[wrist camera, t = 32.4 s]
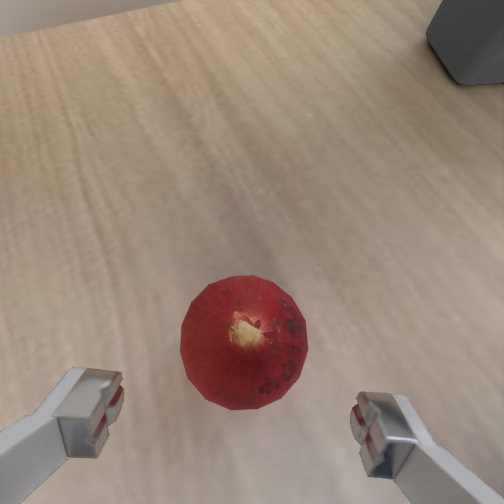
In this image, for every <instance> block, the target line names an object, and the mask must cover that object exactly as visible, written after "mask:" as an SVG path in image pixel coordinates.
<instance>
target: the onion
mask: <svg viewBox="0 0 504 504" xmlns="http://www.w3.org/2000/svg"><path fill="white" fill-rule="evenodd" d="M307 352H308V342H307V331H306V321H305V319H304V317H303V316H302V314H301V312H300V310H299V309H298V307H297V305H296V303H295V302H294V300H293V298H292V297H291V296H289V295H288V294H287V293H286V292H284V291H283V290H282V289H281V288H279V287H278V286H277V285H276V284H275V283H273V282H271V281H268V280H265V279H262V278H259V277H256V276H253V275H250V276H235V277H228V278H226V279H223V280H220V281H217V282H215V283H212V284H209V285H208V286H207V287H206V288H205V289H204V290H203V291H202V292H201V293H200V294H199V295H198V296H197V297H196V298H195V299H194V300H193V301H192V302H191V304H190V307H189V309H188V311H187V314H186V316H185V318H184V321H183V323H182V326H181V344H180V353H181V356H182V360H183V363H184V367H185V370H186V374H187V377H188V379H189V380H190V381H191V383H192V384H193V385H194V386H195V387H196V388H197V390H198V391H199V392H200V393H201V394H202V395H203V397H204V398H205V399H206V400H208V401H211V402H213V403H216V404H218V405H220V406H223V407H225V408H228V409H230V410H244V409H259V408H261V407H263V406H265V405H268V404H270V403H272V402H274V401H276V400H279V399H281V398H282V397H283V396H284V395H285V394H286V392H287V391H288V390H289V389H290V388H291V387H292V386H293V384H294V383H295V382H296V381H297V380H298V379H299V377H300V374H301V371H302V368H303V365H304V362H305V358H306V355H307Z"/></svg>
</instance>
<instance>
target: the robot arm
mask: <svg viewBox="0 0 504 504" xmlns="http://www.w3.org/2000/svg"><path fill="white" fill-rule="evenodd" d="M122 380H123V378H122V372H118V371H109V370H100V369H91V368H80V367H72V368H71V369H70V370H68V371H67V372H66V373H65V375H64V376H63V377H62V378H61V380H60V381H59V382H58V383H57V385H56V386H55V387H54V388H53V390H52V391H51V392H50V393H49V394H48V396H47V397H46V398H45V399H44V401H43V402H42V403H41V404H40V406H39V407H38V408H37V409H36V411H35V412H34V413H33V414H32V415H26V416H24V417H22V418H21V419H19V420H18V421H16V422H14V423H13V424H11V425H9V426H8V427H6V428H5V429H3V430H1V431H0V504H20V503H21V502H22V501H23V500H24V499H26V498H27V497H28V496H29V495H30V494H31V493H32V492H33V491H34V490H35V489H36V488H37V487H39V486H40V485H41V484H42V483H43V482H44V481H45V480H46V479H47V478H48V477H49V476H50V475H51V474H53V473H54V472H55V471H56V470H57V469H58V468H59V467H60V466H61V465H62V464H63V463H64V462H66V461H67V460H68V458H67V457H72V458H98V457H99V455H100V453H101V451H102V448H103V446H104V444H105V442H106V440H107V438H108V436H109V430H108V426H110V425H111V424H112V423H113V422H115V421H116V420H117V418H118V415H119V413H120V411H121V408H122V405H123V401H124V388H123V387H122V386H121V385H120V383H121V382H122ZM356 400H357V402H358V404H357V405H355V406H354V407H352V410H351V413H350V425H351V430H352V433H353V436H354V438H355V440H356V441H357V442H358V443H359V444H360V445H361V449H360V452H359V453H360V456H361V459H362V462H363V465H364V468H365V470H366V473H367V476H368V477H375V478H385V479H395V480H394V482H395V483H396V484H397V486H398V487H399V488H400V489H401V491H402V492H403V493H404V494H405V496H406V497H407V498H408V499H409V501H410V502H411V503H412V504H504V499H503V498H502V497H501V496H500V495H499V494H497V493H496V492H495V491H494V490H493V489H492V488H490V487H489V486H488V485H487V484H486V483H485V482H483V481H482V480H481V479H480V478H479V477H477V476H476V475H475V474H474V473H473V472H472V471H470V470H469V469H468V468H467V467H466V466H465V465H463V464H462V463H461V462H460V461H459V460H457V459H456V458H455V457H454V456H453V455H452V454H450V453H449V452H448V451H447V450H446V449H445V448H443V447H442V446H437V445H436V443H435V441H434V440H433V438H432V436H431V435H430V433H429V432H428V430H427V428H426V427H425V425H424V424H423V422H422V420H421V419H420V417H419V415H418V414H417V412H416V411H415V409H414V407H413V406H412V404H411V402H410V401H409V399H408V398H407V397H406V396H405V395H399V394H388V393H377V392H362V391H361V392H360V393H358V395H357V398H356Z"/></svg>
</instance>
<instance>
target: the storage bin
mask: <svg viewBox="0 0 504 504" xmlns="http://www.w3.org/2000/svg"><path fill="white" fill-rule="evenodd" d="M426 37H427V39H428V41H429V43H430V44H431V46H432V48H433V49H434V51H435V52H436V54H437V55H438V57H439V58H440V60H441V61H442V63H443V64H444V65H445V67H446V68H447V70H448V71H449V73H450V74H451V76H452V77H453V79H454V80H455V81H456V82H458V83H459V84H462V85H480V84H494V83H504V0H443V1H442V3H441V5H440V6H439V8H438V10H437V12H436V14H435V15H434V17H433V19H432V21H431V23H430V25H429V27H428V28H427V31H426Z"/></svg>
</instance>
